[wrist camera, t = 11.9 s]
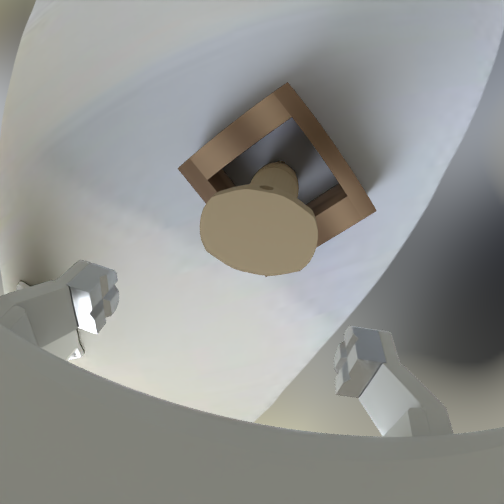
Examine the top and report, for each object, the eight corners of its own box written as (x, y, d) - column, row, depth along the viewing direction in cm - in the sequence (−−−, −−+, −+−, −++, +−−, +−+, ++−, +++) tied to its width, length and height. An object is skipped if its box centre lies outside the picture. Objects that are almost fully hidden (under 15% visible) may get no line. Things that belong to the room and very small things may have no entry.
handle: (251, 146, 29) (203, 180, 15) (315, 159, 28) (327, 204, 15) (244, 192, 31) (197, 261, 18) (306, 204, 30) (305, 284, 17)
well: (271, 253, 33) (265, 276, 29) (196, 159, 30) (177, 168, 26) (365, 194, 29) (376, 210, 24) (290, 87, 25) (287, 82, 21)
